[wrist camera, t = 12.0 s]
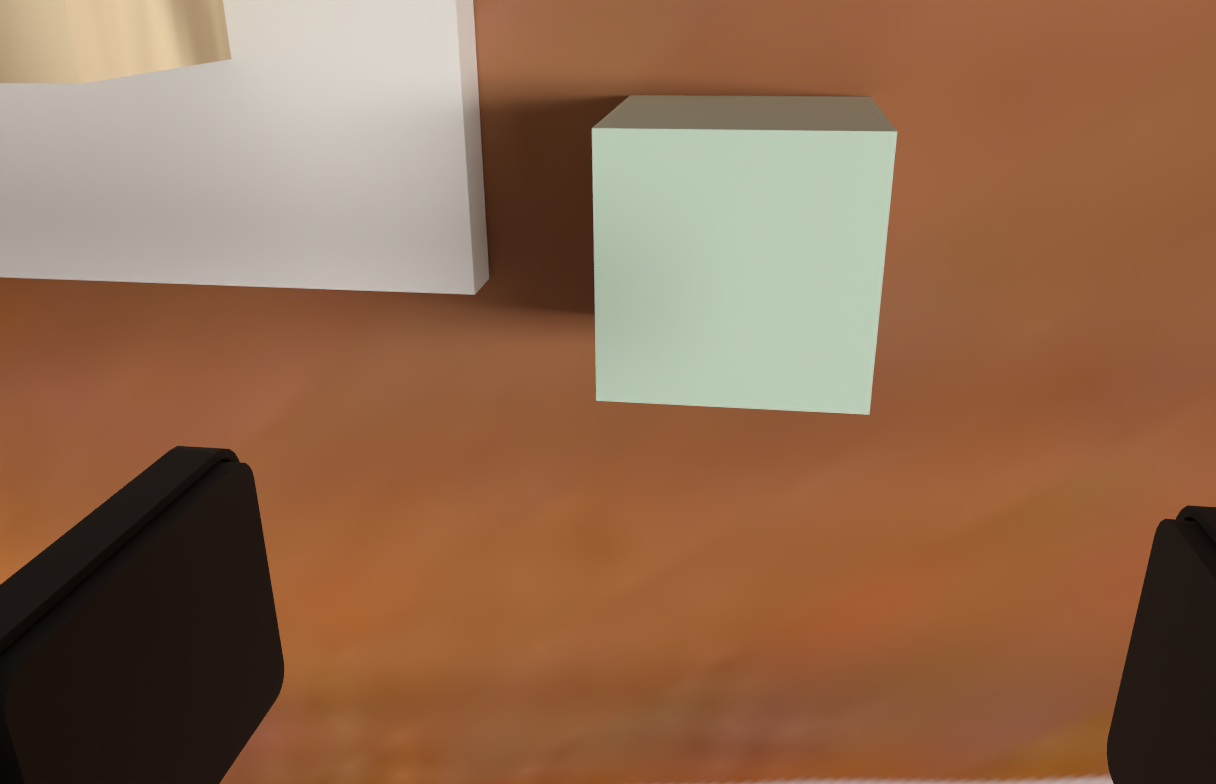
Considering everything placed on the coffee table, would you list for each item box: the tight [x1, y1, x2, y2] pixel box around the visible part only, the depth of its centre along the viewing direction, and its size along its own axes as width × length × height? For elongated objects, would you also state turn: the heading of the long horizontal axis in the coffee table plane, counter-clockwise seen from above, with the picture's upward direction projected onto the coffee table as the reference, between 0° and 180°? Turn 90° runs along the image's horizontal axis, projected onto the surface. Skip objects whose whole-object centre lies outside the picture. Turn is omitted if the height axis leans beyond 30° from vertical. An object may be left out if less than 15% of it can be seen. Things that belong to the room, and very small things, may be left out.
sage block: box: [592, 95, 897, 414], centre depth 24 cm, size 6×6×6 cm
